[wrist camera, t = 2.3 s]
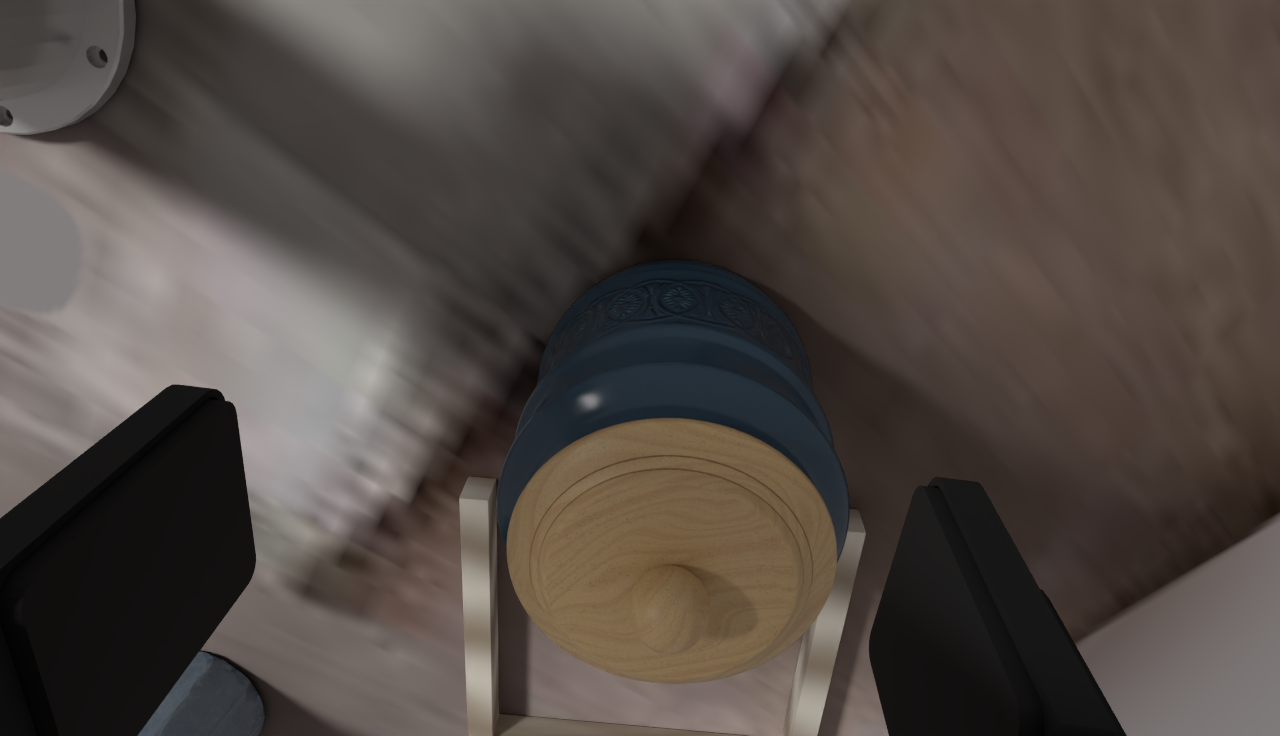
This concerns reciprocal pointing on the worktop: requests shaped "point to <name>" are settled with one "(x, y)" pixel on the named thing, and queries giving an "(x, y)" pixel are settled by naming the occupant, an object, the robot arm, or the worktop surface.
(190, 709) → the moka pot
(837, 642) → the bay frame
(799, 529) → the canister
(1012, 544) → the robot arm
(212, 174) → the worktop surface
